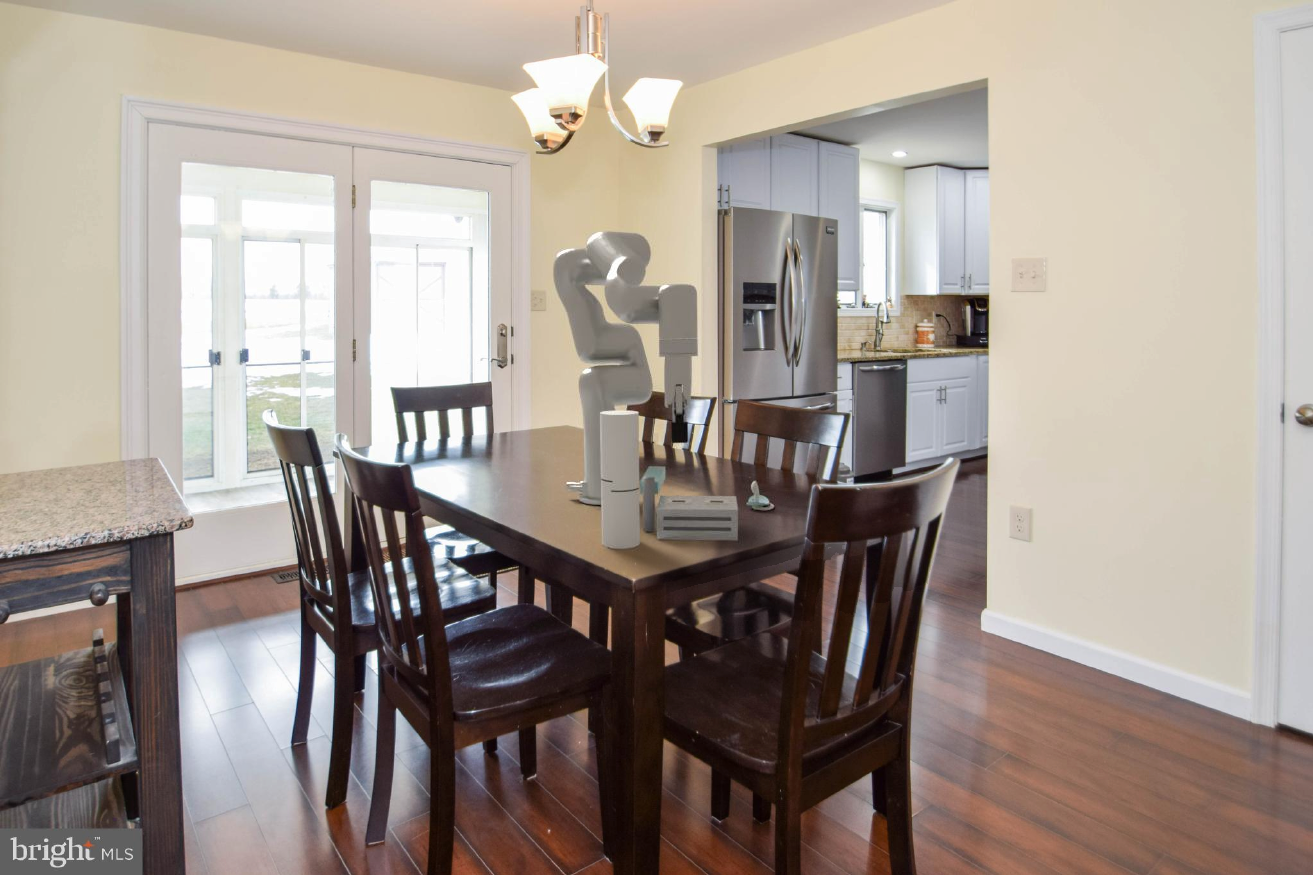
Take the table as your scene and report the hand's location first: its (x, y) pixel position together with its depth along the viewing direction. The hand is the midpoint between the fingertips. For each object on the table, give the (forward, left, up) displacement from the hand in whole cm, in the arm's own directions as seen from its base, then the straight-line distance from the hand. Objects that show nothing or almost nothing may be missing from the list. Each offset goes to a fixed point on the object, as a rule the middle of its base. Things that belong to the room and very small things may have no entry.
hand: (679, 442), depth 158 cm
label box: (+4, -1, -18) cm, 18 cm away
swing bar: (-6, +8, -18) cm, 20 cm away
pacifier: (+17, +21, -18) cm, 33 cm away
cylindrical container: (-11, -10, -18) cm, 23 cm away
